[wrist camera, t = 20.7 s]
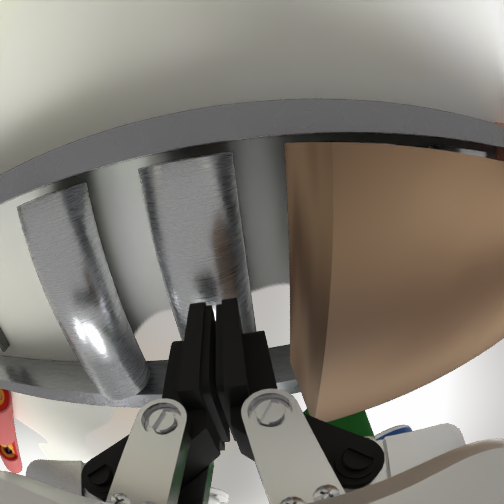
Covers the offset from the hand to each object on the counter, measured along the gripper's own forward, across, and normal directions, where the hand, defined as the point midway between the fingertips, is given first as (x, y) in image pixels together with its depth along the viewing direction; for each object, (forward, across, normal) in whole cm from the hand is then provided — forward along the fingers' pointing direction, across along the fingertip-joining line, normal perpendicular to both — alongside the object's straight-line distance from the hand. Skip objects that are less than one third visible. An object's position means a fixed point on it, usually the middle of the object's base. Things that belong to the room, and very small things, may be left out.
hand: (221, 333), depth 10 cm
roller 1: (+6, +8, 0) cm, 10 cm away
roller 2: (+6, +1, 0) cm, 6 cm away
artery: (+6, +43, +26) cm, 51 cm away
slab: (+2, -12, -1) cm, 13 cm away
